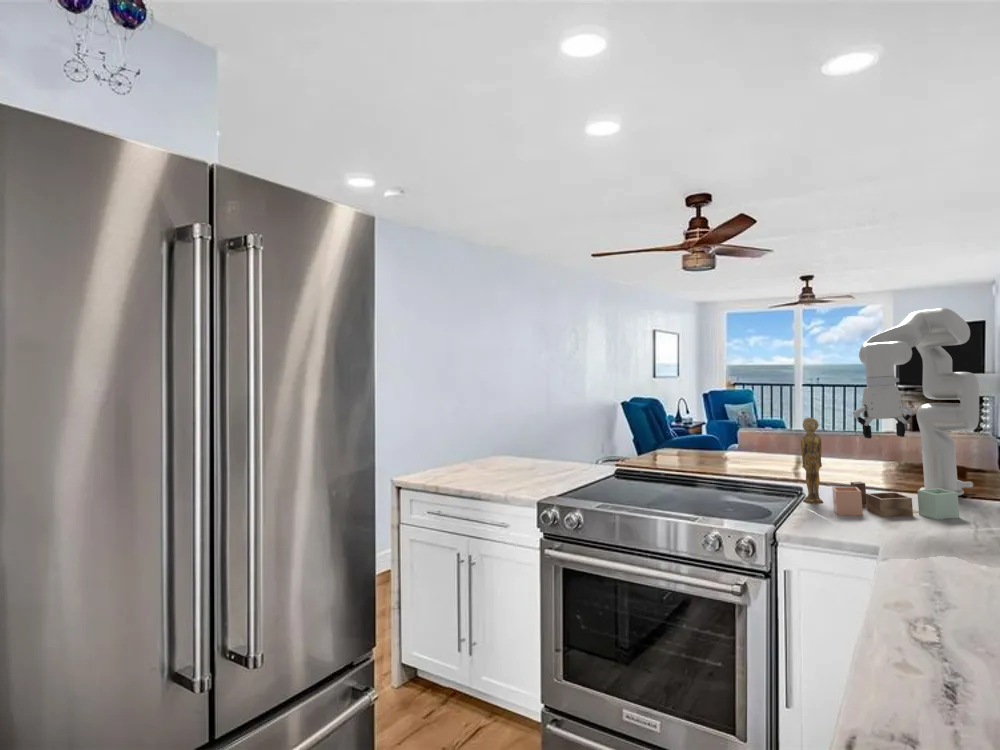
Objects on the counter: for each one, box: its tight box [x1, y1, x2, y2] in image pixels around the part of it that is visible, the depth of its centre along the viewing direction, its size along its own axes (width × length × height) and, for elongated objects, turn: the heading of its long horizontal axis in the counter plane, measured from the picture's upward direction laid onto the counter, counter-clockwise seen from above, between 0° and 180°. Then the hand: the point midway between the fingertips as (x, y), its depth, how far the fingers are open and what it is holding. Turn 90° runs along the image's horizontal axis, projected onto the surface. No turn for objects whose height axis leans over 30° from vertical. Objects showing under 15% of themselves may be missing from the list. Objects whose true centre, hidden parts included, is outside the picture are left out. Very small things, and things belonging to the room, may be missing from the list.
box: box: [866, 491, 914, 518], centre depth 190 cm, size 9×9×6 cm
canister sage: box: [916, 488, 960, 520], centre depth 183 cm, size 7×7×8 cm
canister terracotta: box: [832, 486, 864, 516], centre depth 194 cm, size 7×7×8 cm
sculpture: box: [800, 417, 824, 505], centre depth 210 cm, size 7×6×30 cm
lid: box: [849, 481, 867, 509], centre depth 203 cm, size 10×10×8 cm
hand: (884, 437), depth 190 cm, fingers open, 9 cm apart
